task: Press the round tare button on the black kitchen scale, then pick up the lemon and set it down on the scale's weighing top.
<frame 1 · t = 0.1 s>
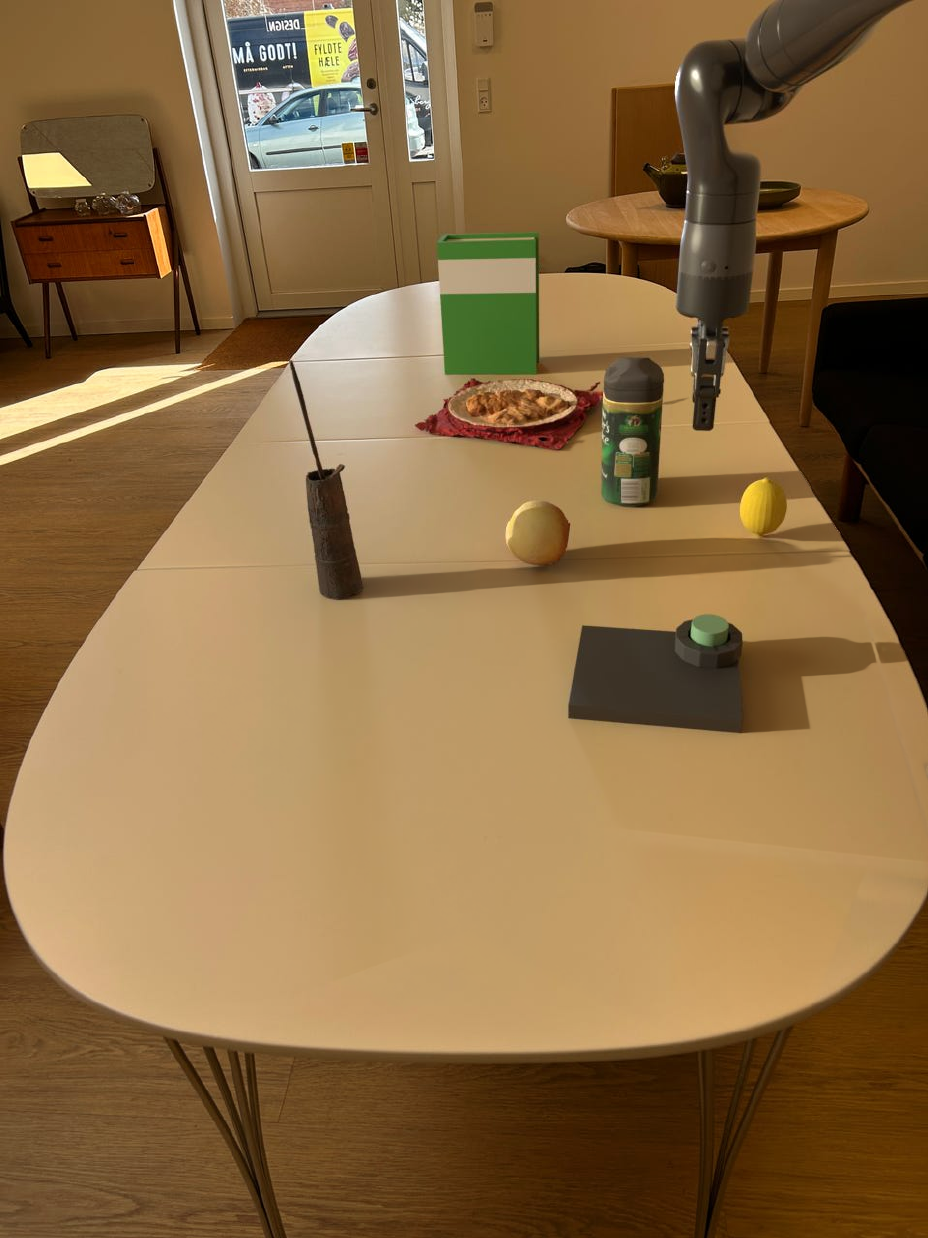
hand: (702, 415, 105), 18 cm above the table, tool pointing down, fingers open, 8 cm apart
butter churn: (348, 586, 113), on the table
plate with food: (512, 417, 159), on the table
tare button: (709, 630, 94), point 4 cm above the table, slide at 0.1 cm
hardback book: (492, 369, 181), on the table
scale: (655, 682, 93), on the table
lemon: (759, 537, 118), on the table
fruit: (537, 564, 115), on the table
coffee jar: (628, 495, 131), on the table
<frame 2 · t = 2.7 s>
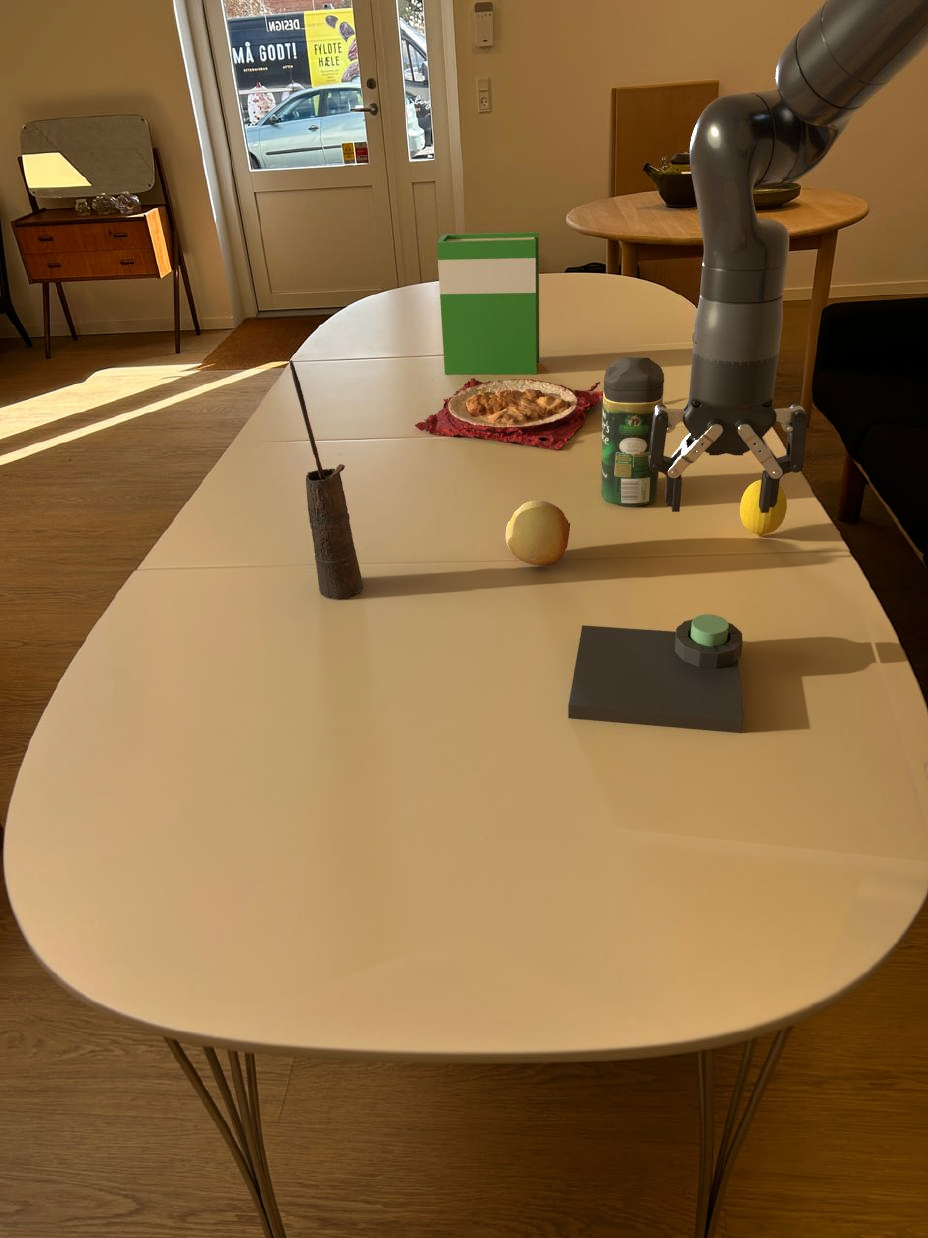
hand: (719, 509, 92), 15 cm above the table, tool pointing down, fingers open, 8 cm apart
nothing on the table moved.
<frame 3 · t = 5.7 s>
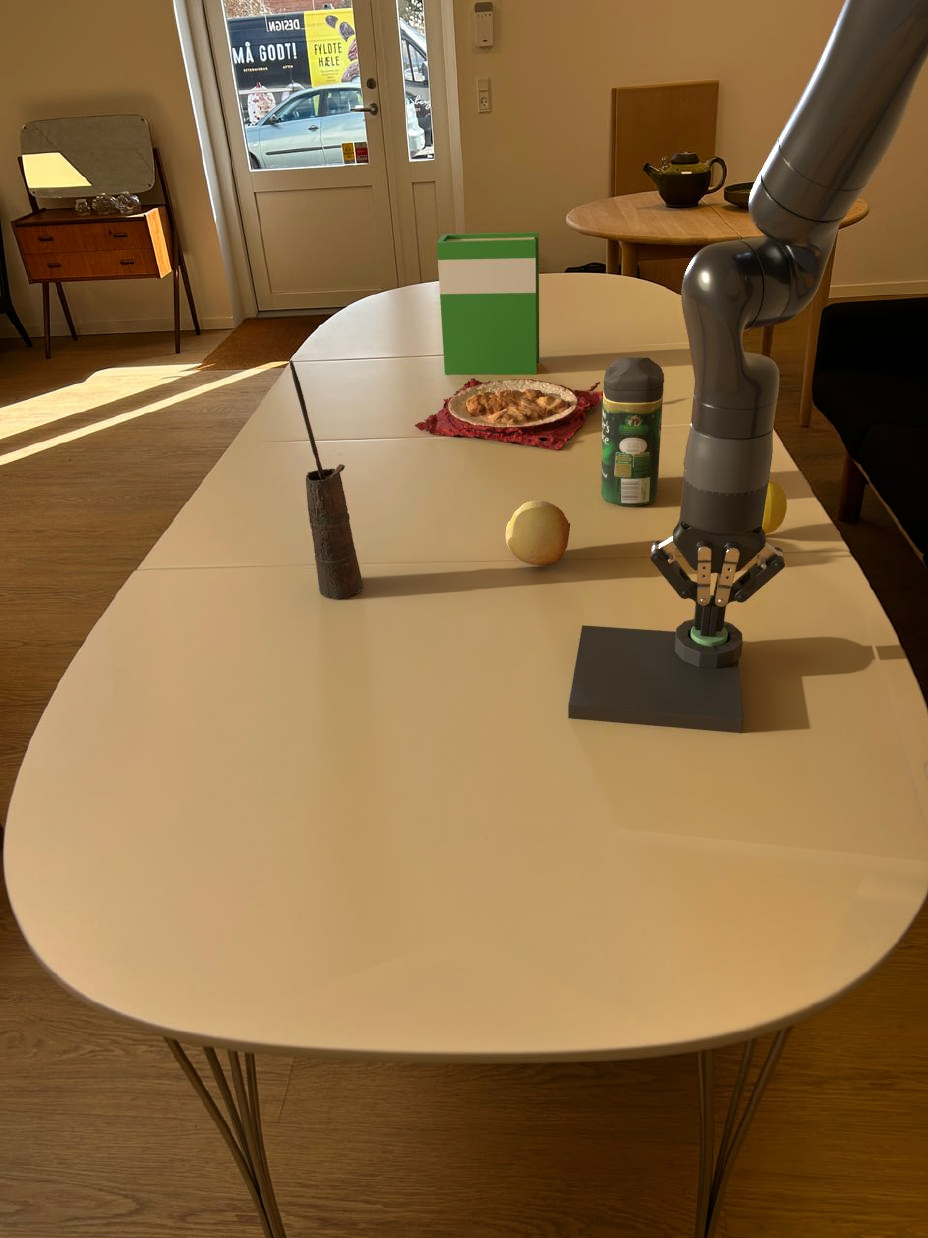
hand: (707, 632, 94), 4 cm above the table, tool pointing down, fingers closed
tare button: (708, 638, 94), point 3 cm above the table, slide at -0.9 cm, touching gripper
everything else where it was.
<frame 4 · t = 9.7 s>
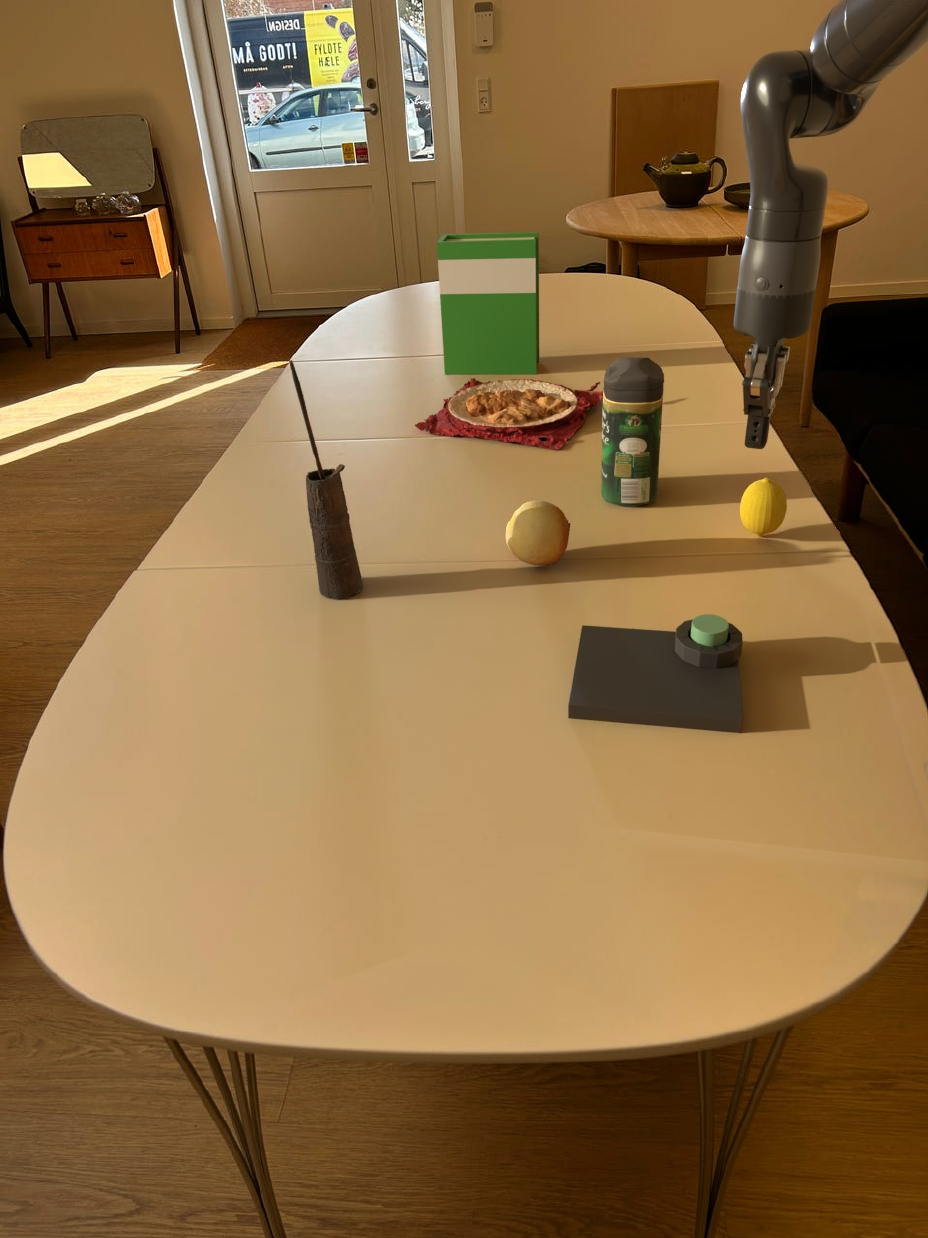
hand: (755, 445, 102), 16 cm above the table, tool pointing down, fingers closed
tare button: (709, 630, 94), point 4 cm above the table, slide at 0.1 cm
everything else where it was.
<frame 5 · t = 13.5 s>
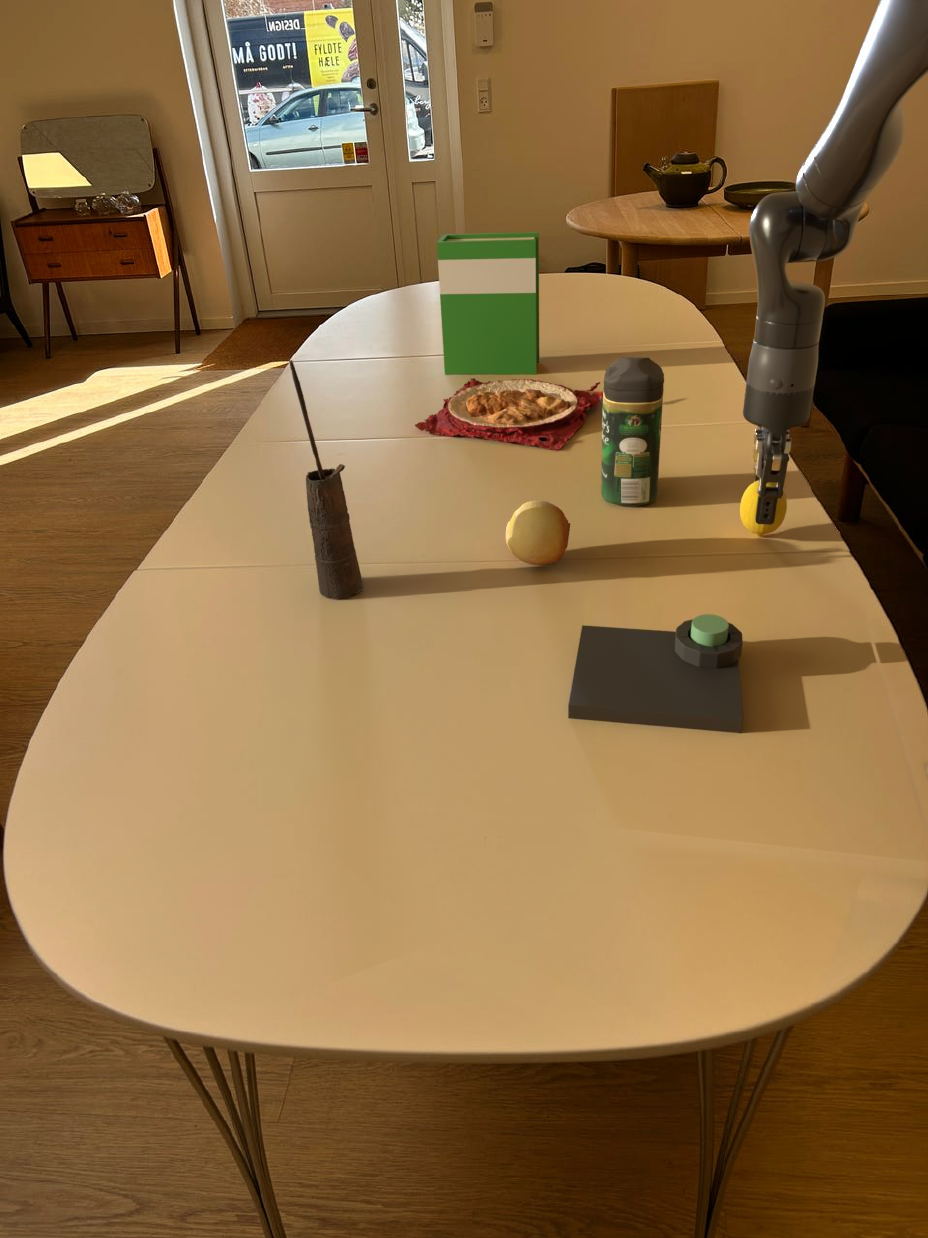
hand: (762, 511, 116), 4 cm above the table, tool pointing down, fingers closed on lemon, 5 cm apart
lemon: (759, 537, 118), on the table, touching gripper
everything else where it was.
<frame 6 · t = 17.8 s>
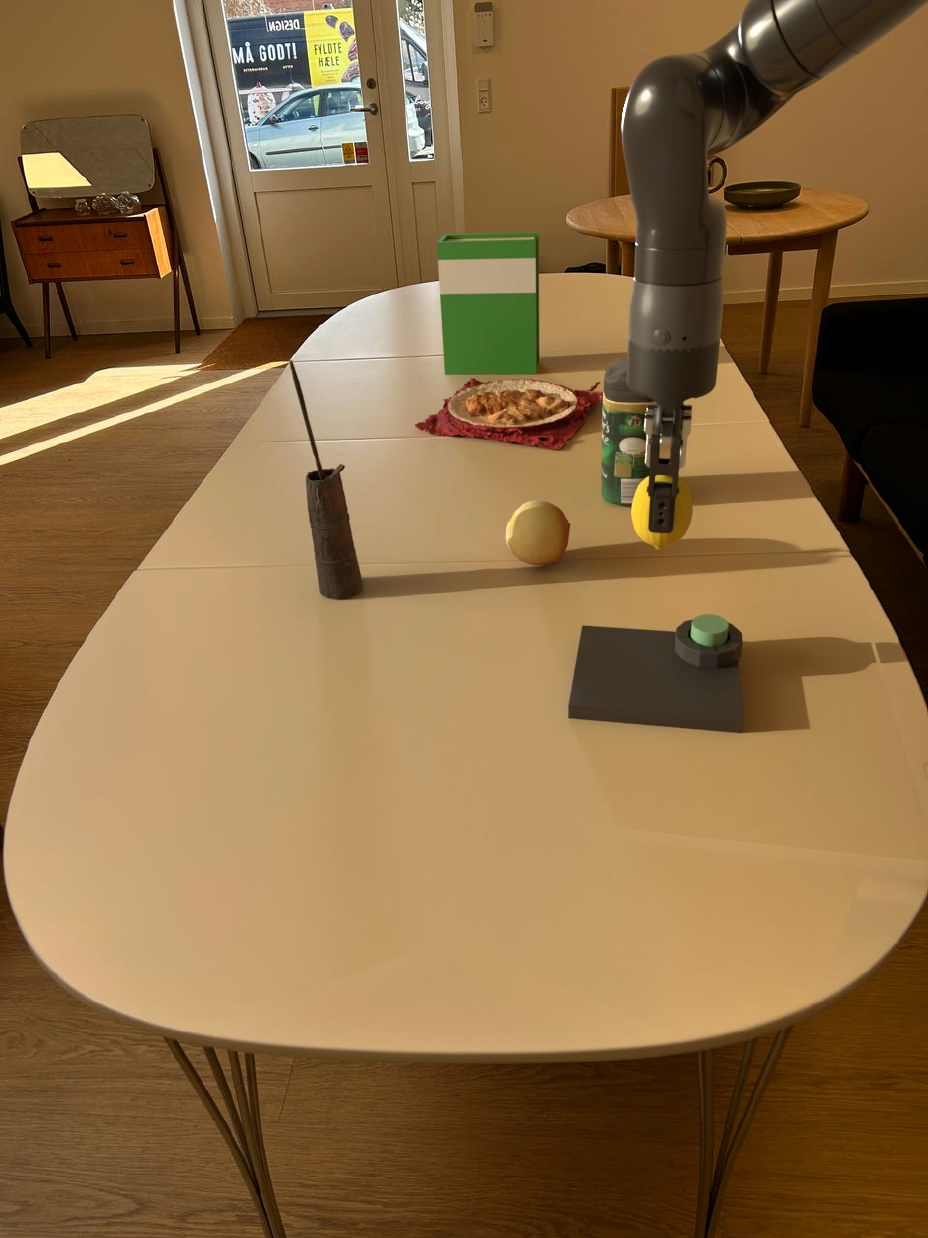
hand: (662, 515, 86), 17 cm above the table, tool pointing down, fingers closed on lemon, 5 cm apart
lemon: (659, 550, 88), point 14 cm above the table, touching gripper
everything else where it was.
when the fingers open (5 cm above the table, at t = 21.9 s): lemon stays where it is, resting on scale.
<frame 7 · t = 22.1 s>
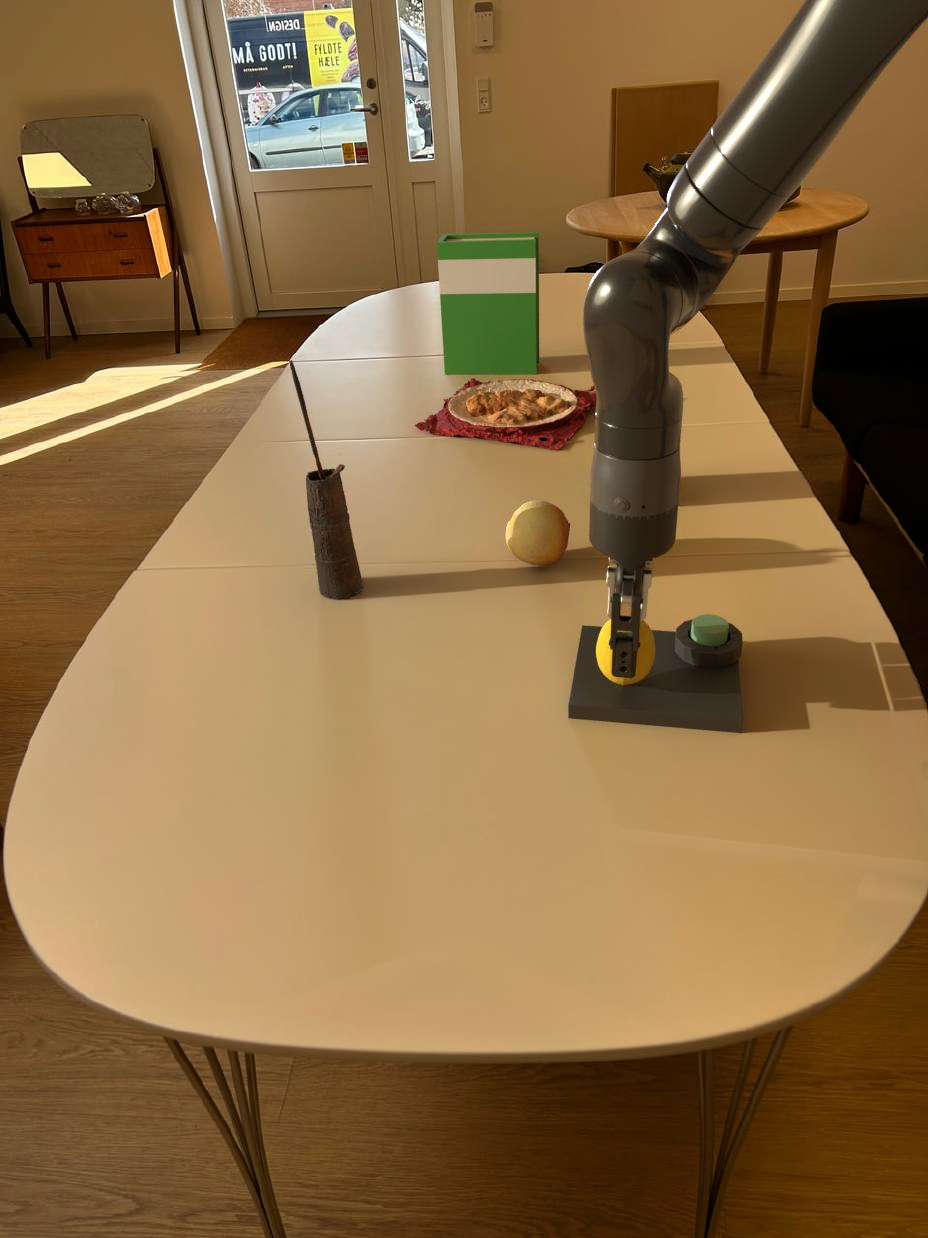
hand: (625, 653, 89), 5 cm above the table, tool pointing down, fingers open, 6 cm apart
lemon: (623, 685, 91), point 2 cm above the table, touching scale
everything else where it was.
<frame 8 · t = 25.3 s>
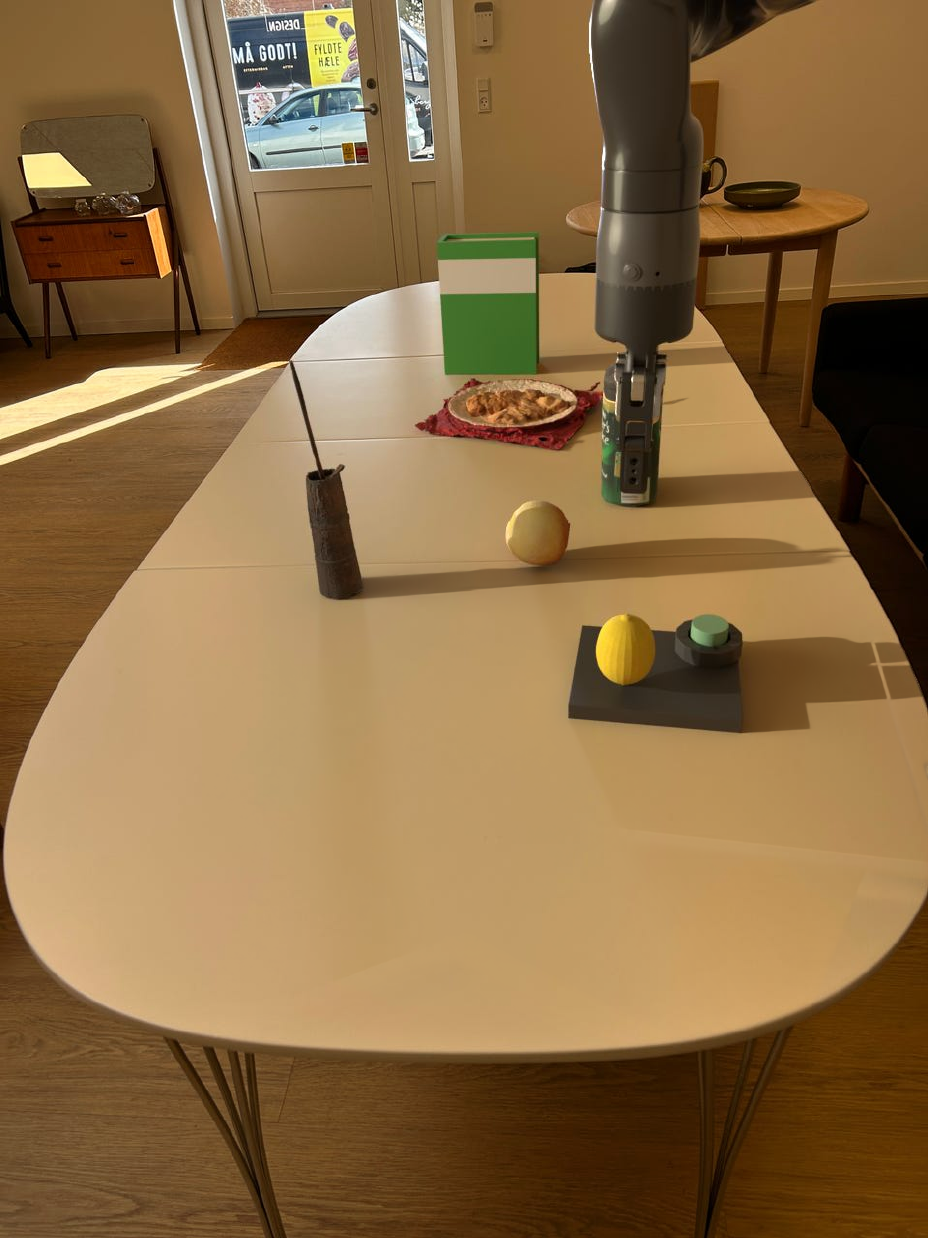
hand: (635, 470, 79), 24 cm above the table, tool pointing down, fingers open, 8 cm apart
nothing on the table moved.
at the end: tare button pushed in 1.1 cm at the most during the clip, back to where it started at the end; tare button slide at 0.1 cm; lemon touching scale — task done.
